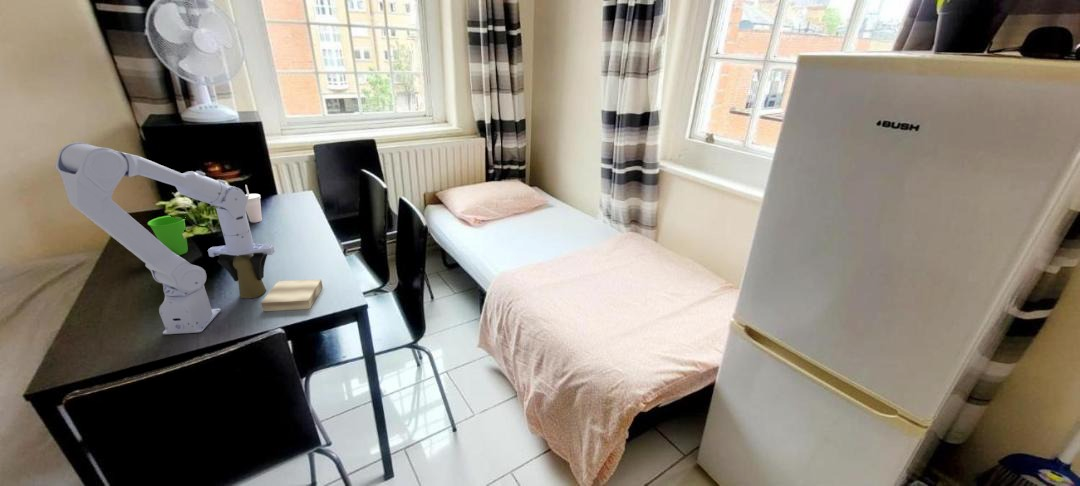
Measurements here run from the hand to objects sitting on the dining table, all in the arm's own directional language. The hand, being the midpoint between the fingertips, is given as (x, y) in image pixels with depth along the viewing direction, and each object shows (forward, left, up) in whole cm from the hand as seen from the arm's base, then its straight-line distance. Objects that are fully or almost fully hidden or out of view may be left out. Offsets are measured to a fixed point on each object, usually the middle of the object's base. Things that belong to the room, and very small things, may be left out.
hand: (249, 279), depth 113 cm
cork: (0, 0, -4) cm, 4 cm away
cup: (+28, +33, -5) cm, 44 cm away
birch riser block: (-4, -12, -4) cm, 13 cm away
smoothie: (+55, +21, -5) cm, 59 cm away
